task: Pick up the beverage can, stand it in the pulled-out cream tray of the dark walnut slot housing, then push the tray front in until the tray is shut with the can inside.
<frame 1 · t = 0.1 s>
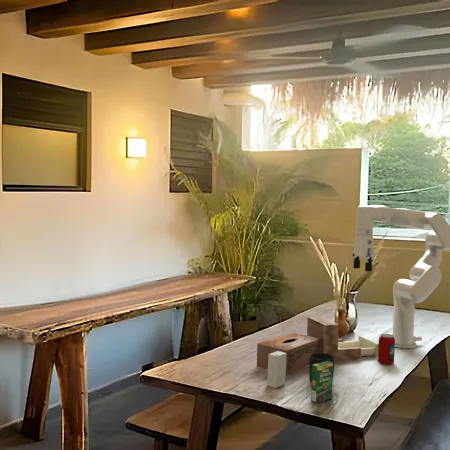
hand: (362, 269, 266), 37 cm above the table, tool pointing down, fingers open, 9 cm apart
tray: (353, 347, 258), point 3 cm above the table, slide at 8.0 cm
tissue box cover: (288, 364, 242), on the table
pen holder: (320, 382, 220), on the table
skincare box: (276, 385, 215), on the table
beverage can: (385, 363, 247), on the table
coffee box: (321, 401, 201), on the table
housing: (332, 355, 255), on the table
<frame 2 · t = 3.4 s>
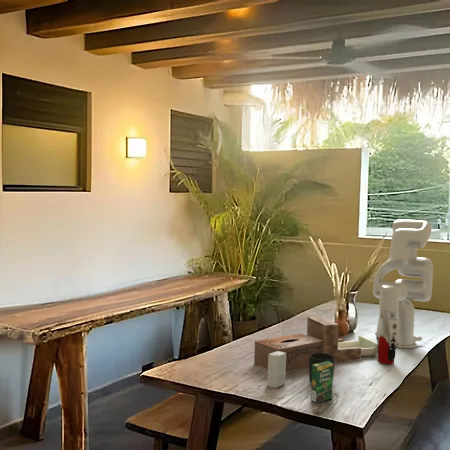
hand: (386, 355, 246), 3 cm above the table, tool pointing down, fingers closed on beverage can, 6 cm apart
beverage can: (385, 363, 247), on the table, touching gripper
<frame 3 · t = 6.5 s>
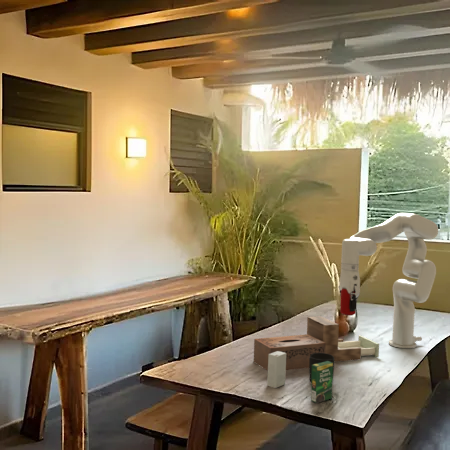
hand: (348, 307, 256), 21 cm above the table, tool pointing down, fingers closed on beverage can, 6 cm apart
beverage can: (347, 314, 256), point 18 cm above the table, touching gripper
when the fingers open (6 cm above the table, at t = 9.4 s): beverage can stays where it is, resting on tray.
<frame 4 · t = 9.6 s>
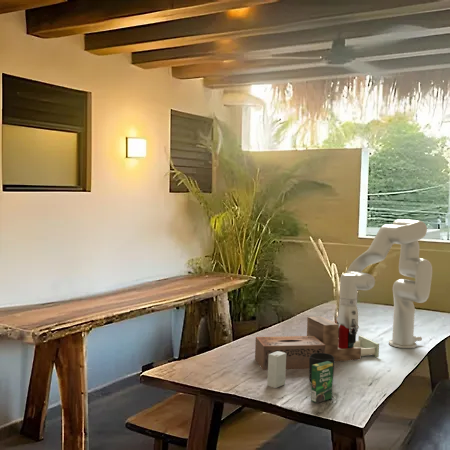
hand: (346, 340, 257), 7 cm above the table, tool pointing down, fingers open, 8 cm apart
tray: (353, 347, 258), point 3 cm above the table, slide at 8.0 cm, touching beverage can
beverage can: (345, 351, 258), point 2 cm above the table, touching tray
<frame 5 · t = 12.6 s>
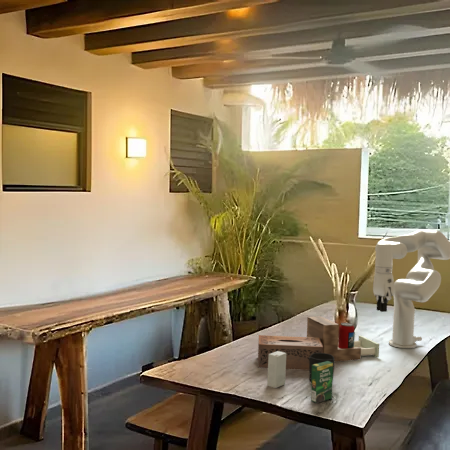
hand: (381, 310, 262), 19 cm above the table, tool pointing down, fingers closed
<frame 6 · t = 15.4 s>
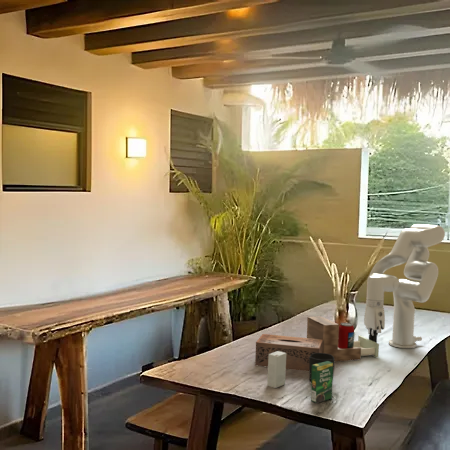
hand: (372, 343, 261), 4 cm above the table, tool pointing down, fingers closed
tray: (353, 347, 258), point 3 cm above the table, slide at 7.9 cm, touching beverage can, gripper
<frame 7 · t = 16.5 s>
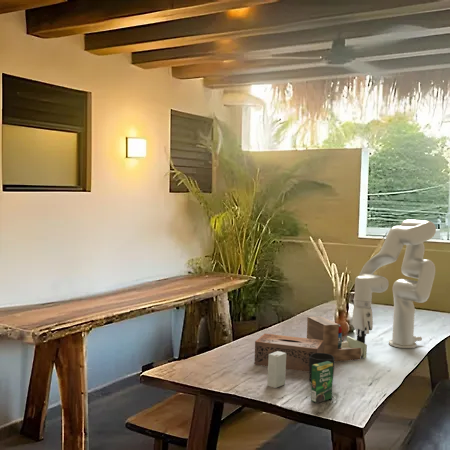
hand: (360, 344, 259), 4 cm above the table, tool pointing down, fingers closed
tray: (340, 348, 256), point 3 cm above the table, slide at 1.7 cm, touching beverage can, gripper
beverage can: (333, 352, 256), point 2 cm above the table, touching tray
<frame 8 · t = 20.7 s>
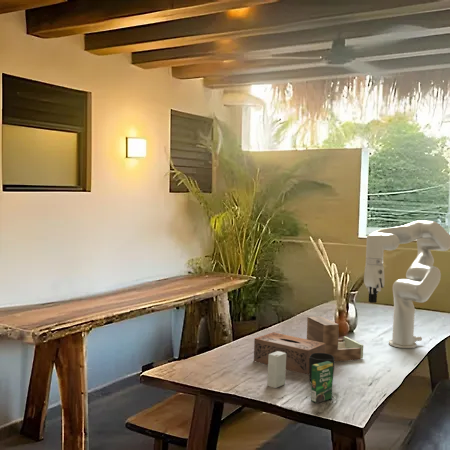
hand: (372, 302, 260), 23 cm above the table, tool pointing down, fingers closed
tray: (337, 348, 256), point 3 cm above the table, slide at 0.0 cm, touching beverage can
beverage can: (329, 352, 255), point 2 cm above the table, touching tray
at the end: tray slide at 0.0 cm; beverage can inside the target area on the housing (1.2 cm from its centre), point 1.6 cm above the housing's base; beverage can tilted 0° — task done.
